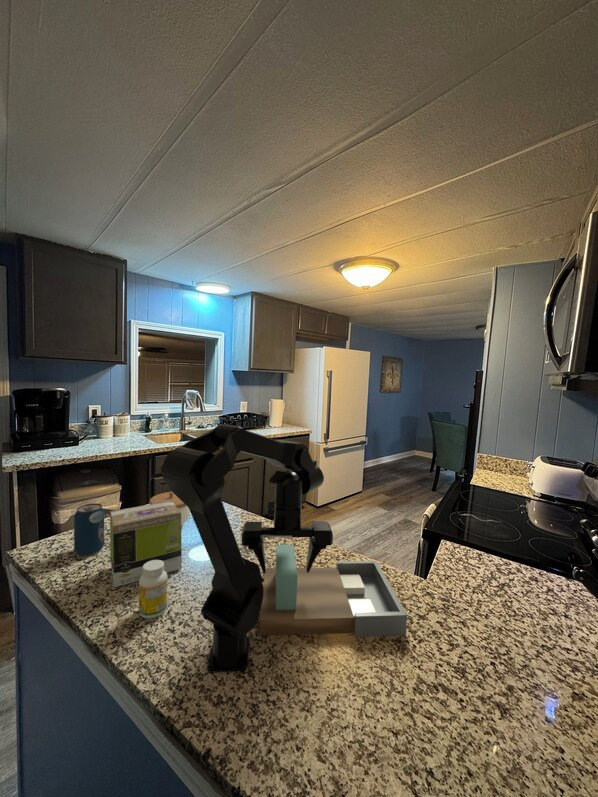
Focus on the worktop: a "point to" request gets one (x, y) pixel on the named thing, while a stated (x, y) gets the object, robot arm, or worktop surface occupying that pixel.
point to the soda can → (89, 529)
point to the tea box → (144, 540)
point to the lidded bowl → (178, 503)
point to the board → (308, 604)
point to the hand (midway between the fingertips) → (286, 571)
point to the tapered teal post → (286, 578)
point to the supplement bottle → (153, 589)
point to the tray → (375, 601)
